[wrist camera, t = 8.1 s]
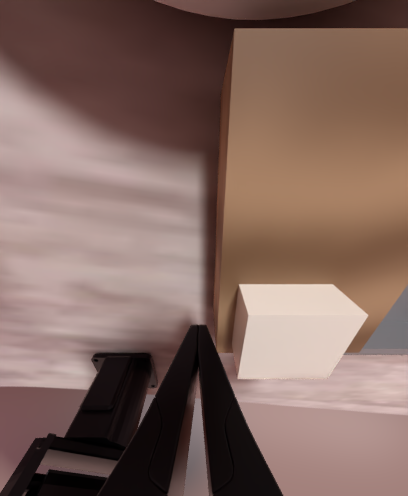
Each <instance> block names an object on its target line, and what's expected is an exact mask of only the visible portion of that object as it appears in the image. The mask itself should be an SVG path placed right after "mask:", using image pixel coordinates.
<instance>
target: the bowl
mask: <svg viewBox="0 0 408 496" xmlns="http://www.w3.org/2000/svg"><path fill="white" fill-rule="evenodd" d="M154 1H156V2H159V3H162V4H165V5H168V6H171V7H174V8H178V9H181V10H184V11H188V12H193V13H197V14H201V15H206V16H211V17H219V18H228V19H240V20H266V19H279V18H289V17H294V16H300V15H306V14H311V13H316V12H319V11H323V10H327V9H330V8H334V7H338V6H341V5H344V4H347V3H350V2H353V1H356V0H154Z"/></svg>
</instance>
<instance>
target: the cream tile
mask: <svg viewBox="0 0 408 496" xmlns="http://www.w3.org/2000/svg"><path fill="white" fill-rule="evenodd" d="M367 317H368V314H367V313H365V312H364V311H363V310H362V309H361V308H360V307H358V306H357V305H356V304H355V303H354V302H353V301H352V300H350V299H349V298H348V297H347V296H346V295H345V294H343V293H342V292H341V291H340V290H339V289H338V288H337V287H335V286H334V285H333V284H239V288H238V296H237V304H236V312H235V321H234V329H233V337H232V349H233V355H234V361H235V367H236V373H237V379H328V377H329V376H330V374H331V373H332V371H333V370H334V368H335V366H336V365H337V363H338V362H339V360H340V359H341V357H342V356H343V354H344V352H345V351H346V349H347V348H348V346H349V345H350V343H351V342H352V340H353V339H354V337H355V335H356V334H357V332H358V331H359V329H360V328H361V326H362V325H363V323H364V322H365V320H366V318H367Z"/></svg>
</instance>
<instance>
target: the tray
mask: <svg viewBox="0 0 408 496" xmlns="http://www.w3.org/2000/svg"><path fill="white" fill-rule="evenodd" d="M343 355H408V285H407V287H406V288H405V289H404V291H403V292H402V294H401V295H400V296H399V298H398V299H397V301H396V302H395V303H394V305H393V306H392V308H391V309H390V310H389V312H388V313H387V315H386V316H385V317H384V319H383V320H382V321H381V323H380V324H379V326H378V327H377V328H376V330H375V331H374V333H373V334H372V335H371V337H370V338H369V340H368V341H367V342H366V344H365V345H364V347H363V348H362V349H361V351H360V352H359V353H344V354H343Z"/></svg>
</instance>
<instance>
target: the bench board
mask: <svg viewBox="0 0 408 496" xmlns="http://www.w3.org/2000/svg"><path fill="white" fill-rule="evenodd" d="M239 284H333V285H334V286H335V287H337V288H338V289H339V290H340V291H341V292H342V293H343V294H345V295H346V296H347V297H348V298H349V299H350V300H352V301H353V302H354V303H355V304H356V305H357V306H358V307H360V308H361V309H362V310H363V311H364V312H365V313H367V314H368V317H367V318H366V320H365V322H364V323H363V325H362V326H361V328H360V329H359V331H358V332H357V334H356V335H355V337H354V339H353V340H352V342H351V343H350V345H349V346H348V348H347V349H346V351H345V352H344V353H359V352H360V351H361V349H362V348H363V347H364V345H365V344H366V342H367V341H368V340H369V338H370V337H371V335H372V334H373V333H374V331H375V330H376V328H377V327H378V326H379V324H380V323H381V321H382V320H383V319H384V317H385V316H386V315H387V313H388V312H389V310H390V309H391V308H392V306H393V305H394V303H395V302H396V301H397V299H398V298H399V296H400V295H401V294H402V292H403V291H404V289H405V288H406V287H407V285H408V28H234V33H233V38H232V43H231V47H230V52H229V57H228V62H227V66H226V71H225V76H224V81H223V85H222V90H221V102H220V130H219V159H218V188H217V216H216V245H215V274H214V302H213V311H214V326H215V341H216V350H217V352H218V353H233V349H232V337H233V329H234V321H235V312H236V304H237V296H238V288H239Z"/></svg>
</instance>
